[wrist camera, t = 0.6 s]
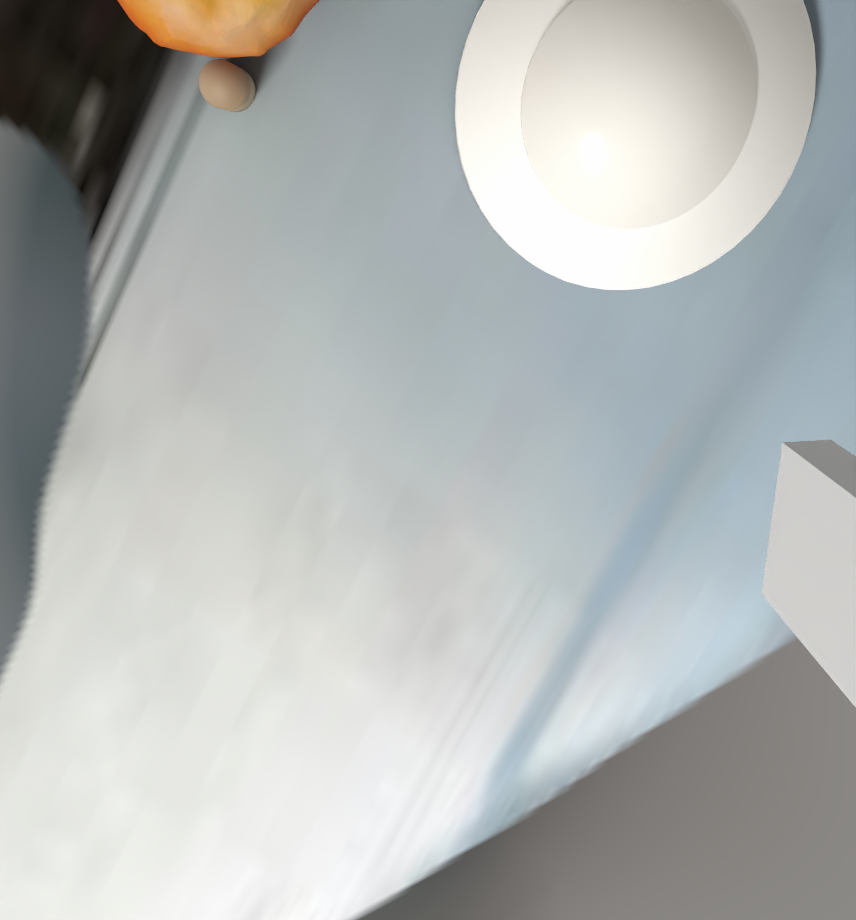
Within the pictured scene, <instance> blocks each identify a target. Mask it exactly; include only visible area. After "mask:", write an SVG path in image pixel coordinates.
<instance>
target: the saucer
mask: <svg viewBox="0 0 856 920" xmlns="http://www.w3.org/2000/svg"><path fill="white" fill-rule="evenodd" d="M815 83H816V60H815V45H814V40H813V34H812V29H811V24H810V19H809V16H808V13H807V10H806V7H805V4H804V1H803V0H484V2H483V4H482V5H481V7H480V9H479V11H478V13H477V15H476V16H475V19H474V21H473V24H472V26H471V29H470V31H469V34H468V36H467V39H466V41H465V45H464V48H463V52H462V56H461V60H460V63H459V67H458V74H457V81H456V88H455V101H454V123H455V133H456V143H457V148H458V152H459V157H460V162H461V166H462V169H463V172H464V175H465V178H466V180H467V183H468V186H469V189H470V191H471V193H472V195H473V197H474V199H475V201H476V203H477V204H478V206H479V208H480V210H481V212H482V213H483V214H484V216H485V217H486V219H487V220H488V222H489V223H490V225H491V226H492V228H493V229H494V230H495V231H496V232H497V233H498V234H499V235H500V236H501V238H502V239H503V240H504V241H505V242H506V243H507V244H508V245H509V246H510V247H512V248H513V249H514V250H515V251H516V252H518V253H519V254H520V255H521V256H522V257H524V258H525V259H526V260H527V261H529V262H530V263H532V264H534V265H535V266H537V267H538V268H540V269H542V270H543V271H545V272H547V273H549V274H551V275H553V276H556V277H558V278H560V279H562V280H565V281H568V282H571V283H575V284H578V285H582V286H585V287H591V288H598V289H605V290H631V289H639V288H647V287H653V286H656V285H660V284H664V283H668V282H672V281H674V280H677V279H679V278H682V277H684V276H687V275H689V274H692V273H694V272H696V271H698V270H699V269H701V268H703V267H705V266H707V265H709V264H710V263H712V262H714V261H715V260H717V259H718V258H719V257H721V256H722V255H724V254H725V253H726V252H728V251H729V250H731V249H732V248H733V247H734V246H735V245H737V244H738V243H739V242H740V241H741V240H742V239H743V238H744V237H745V236H747V235H748V234H749V233H750V232H751V231H752V230H753V228H754V227H755V226H756V225H757V224H758V223H759V222H760V221H761V220H762V218H763V217H764V216H765V215H766V214H767V212H768V211H769V210H770V208H771V207H772V205H773V204H774V203H775V201H776V200H777V198H778V197H779V195H780V194H781V192H782V190H783V189H784V187H785V185H786V183H787V182H788V180H789V178H790V176H791V174H792V173H793V170H794V168H795V166H796V163H797V161H798V158H799V156H800V154H801V151H802V149H803V146H804V142H805V139H806V136H807V132H808V129H809V126H810V121H811V116H812V110H813V104H814V99H815Z"/></svg>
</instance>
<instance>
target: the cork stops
mask: <svg viewBox="0 0 856 920" xmlns="http://www.w3.org/2000/svg"><path fill="white" fill-rule="evenodd" d="M199 87H200V91H201V93H202V95H203V97H204V98H205V100H206V101H207V102H208V103H209V104H211V105H212V106H214V107H217V108H221V109H225V110H229V111H233V112H240V111H243V110H245V109H247V108H248V107H249V106H250V105H251V104H252V102H253V100H254V98H255V85H254V82H253V79H252V78H251V76H250V75H249V74H248V73H247V72H246V71H245V70H243V69H242V68H240V67H238V66H236V65H234V64H232V63H231V62H228V61H226V60H222V59H217V60H212V61H210V62H209V63H207V64H206V65H205V66H204V67H203V69H202V70H201V73H200V76H199Z"/></svg>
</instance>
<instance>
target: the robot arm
mask: <svg viewBox="0 0 856 920" xmlns="http://www.w3.org/2000/svg"><path fill="white" fill-rule="evenodd" d="M762 595H763V596H764V598H765V599H766V600H767V601H768V602H769V604H770V605H771V606H772V607H773V608H774V610H775V611H776V612H777V613H778V614H779V616H780V617H781V618H782V619H783V620H784V622H785V623H786V624H787V625H788V626H789V628H790V629H791V630H792V631H793V632H794V634H795V635H796V636H797V637H798V638H799V640H800V641H801V642H802V643H803V645H804V646H805V647H806V648H807V649H808V650H809V652H810V653H811V654H812V655H813V656H814V658H815V659H816V660H817V661H818V663H819V664H820V665H821V666H822V667H823V669H824V670H825V671H826V672H827V673H828V675H829V676H830V677H831V678H832V679H833V681H834V682H835V683H836V684H837V685H838V686H839V688H840V689H841V690H842V691H843V693H844V694H845V695H846V696H847V697H848V698H849V700H850V701H851V702H852V703H853V705H854V706H855V707H856V456H854V455H853V454H851V453H850V452H848V451H847V450H845V449H844V448H842V447H841V446H839V445H838V444H836V443H835V442H833V441H832V440H818V441H801V442H783V443H782V450H781V457H780V464H779V472H778V479H777V486H776V493H775V501H774V508H773V515H772V522H771V530H770V537H769V544H768V551H767V559H766V566H765V573H764V581H763V588H762Z"/></svg>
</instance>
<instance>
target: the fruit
mask: <svg viewBox="0 0 856 920" xmlns="http://www.w3.org/2000/svg"><path fill="white" fill-rule="evenodd" d="M318 1H319V0H118V2H119V3H120V5H121V6H122V8H123V9H124V11H125V12H126V13H127V15H128V16H129V18H130V19H131V20H132V21H133V22H134V24H135V25H136V26H137V27H138V28H139V29H141V30H142V31H144V32H145V33H147V34H148V35H149V37H150V38H151V39H152V41H154V42H155V43H156V44H158V45H160V46H163V47H167V48H171V49H176V50H180V51H185V52H190V53H195V54H200V55H205V56H210V57H222V58H230V57H246V56H261V55H263V54H265V53H266V52H267V51H268V50H269V49H270V48H272V47H274V46H275V45H277V44H278V43H280V42H282V41H283V40H285V39H286V38H288V37H289V36H291V35H292V34H293V33H294V31H295V30H296V28H297V27H298V26H299V24H300V23H301V21H302V20H303V18H304V17H305V15H306V14H307V13H308V12H309V11H310V10H311V9H312V8H313V7H314V6H315V5H316V3H317V2H318Z"/></svg>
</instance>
